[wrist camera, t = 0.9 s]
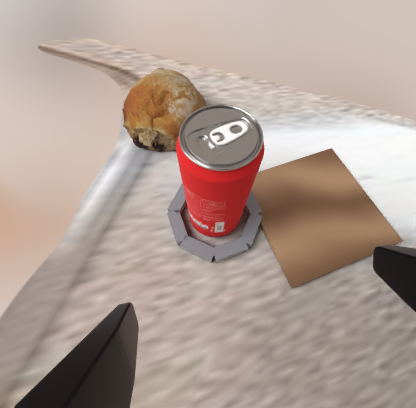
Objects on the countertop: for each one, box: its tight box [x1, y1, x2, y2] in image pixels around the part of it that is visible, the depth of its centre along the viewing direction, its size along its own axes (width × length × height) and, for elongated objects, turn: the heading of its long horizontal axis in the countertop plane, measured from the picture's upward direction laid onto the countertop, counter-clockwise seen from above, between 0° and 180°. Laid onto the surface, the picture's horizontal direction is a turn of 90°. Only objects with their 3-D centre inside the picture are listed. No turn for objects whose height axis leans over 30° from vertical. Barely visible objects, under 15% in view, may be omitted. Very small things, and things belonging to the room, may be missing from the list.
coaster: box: [251, 148, 402, 288], centre depth 23 cm, size 12×12×1 cm
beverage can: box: [176, 104, 264, 237], centre depth 18 cm, size 5×5×12 cm
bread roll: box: [122, 68, 206, 151], centre depth 27 cm, size 10×10×8 cm
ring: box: [167, 184, 263, 262], centre depth 23 cm, size 9×9×1 cm
